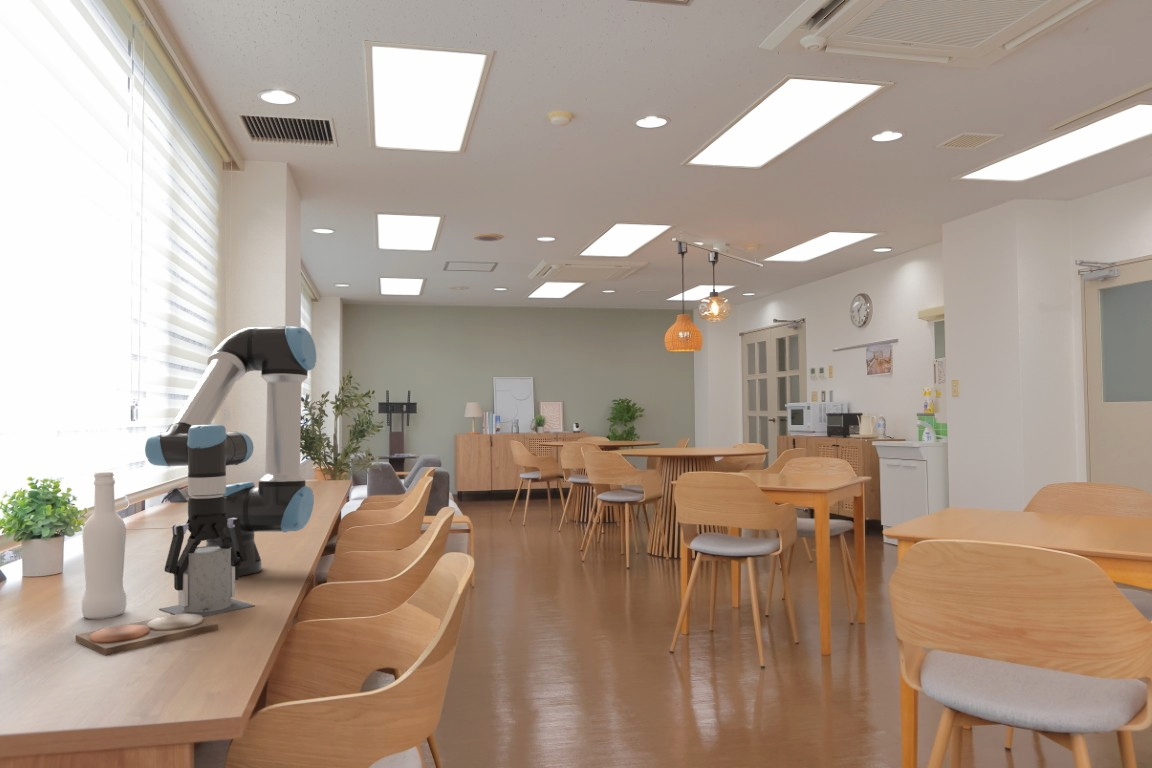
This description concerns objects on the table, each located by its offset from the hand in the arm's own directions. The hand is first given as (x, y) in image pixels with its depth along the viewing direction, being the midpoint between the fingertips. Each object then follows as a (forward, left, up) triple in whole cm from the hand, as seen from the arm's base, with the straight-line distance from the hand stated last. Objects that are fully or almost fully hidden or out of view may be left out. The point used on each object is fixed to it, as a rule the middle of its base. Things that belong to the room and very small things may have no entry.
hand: (207, 600), depth 173 cm
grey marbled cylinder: (0, 0, -2) cm, 2 cm away
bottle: (+16, -12, -2) cm, 20 cm away
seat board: (+17, +12, -2) cm, 21 cm away
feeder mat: (0, 0, -2) cm, 2 cm away
